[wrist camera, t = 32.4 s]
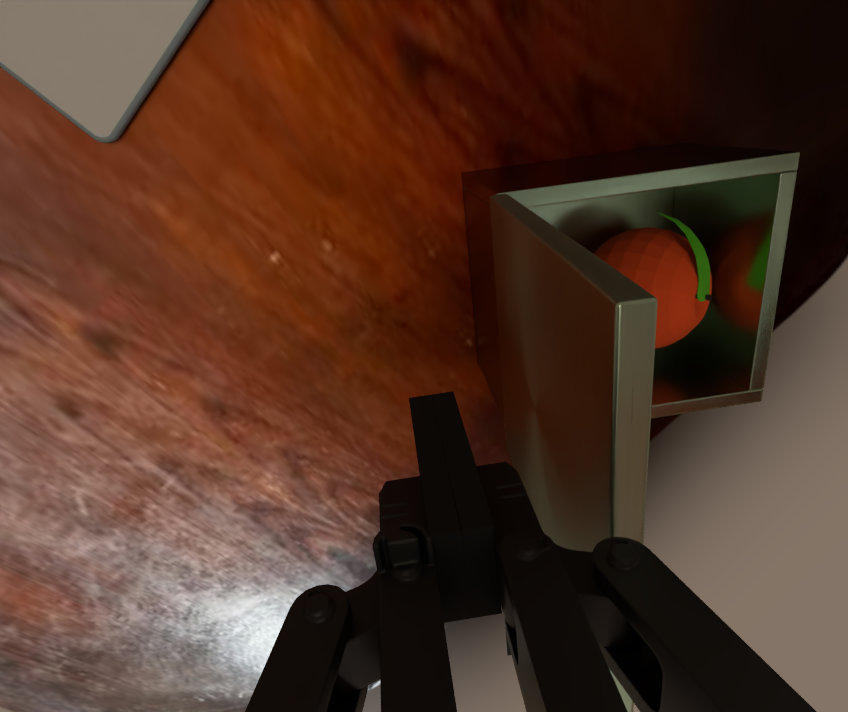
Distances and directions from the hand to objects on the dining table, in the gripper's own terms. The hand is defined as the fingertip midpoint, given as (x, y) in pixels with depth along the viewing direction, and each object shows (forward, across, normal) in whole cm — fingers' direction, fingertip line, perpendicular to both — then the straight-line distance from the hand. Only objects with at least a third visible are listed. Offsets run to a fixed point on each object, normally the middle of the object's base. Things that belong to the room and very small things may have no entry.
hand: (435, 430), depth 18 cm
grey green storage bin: (+18, +11, 0) cm, 21 cm away
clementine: (+16, +11, 0) cm, 19 cm away
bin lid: (0, +4, 0) cm, 4 cm away
